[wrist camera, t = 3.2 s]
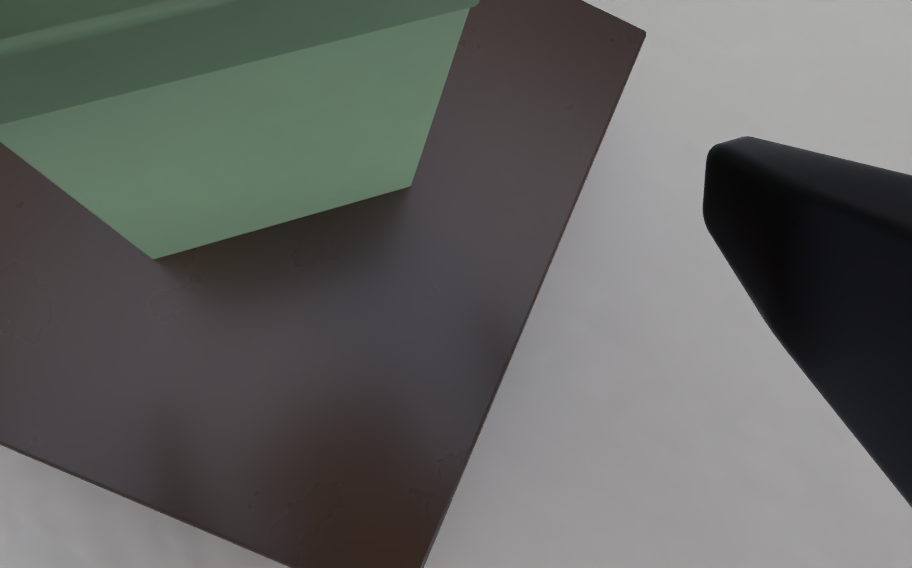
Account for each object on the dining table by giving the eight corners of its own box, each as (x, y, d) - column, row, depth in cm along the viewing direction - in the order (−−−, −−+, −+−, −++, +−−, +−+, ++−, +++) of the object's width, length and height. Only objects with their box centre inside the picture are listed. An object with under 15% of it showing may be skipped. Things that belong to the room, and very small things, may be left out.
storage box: (389, 568, 20) (403, 616, 15) (-84, 366, 19) (-213, 355, 14) (585, 106, 22) (648, 30, 17) (170, -92, 21) (126, -222, 17)
